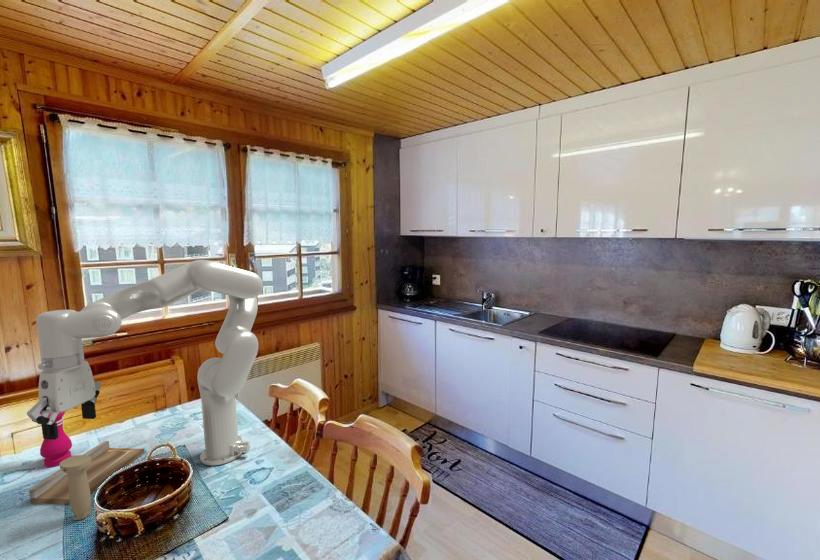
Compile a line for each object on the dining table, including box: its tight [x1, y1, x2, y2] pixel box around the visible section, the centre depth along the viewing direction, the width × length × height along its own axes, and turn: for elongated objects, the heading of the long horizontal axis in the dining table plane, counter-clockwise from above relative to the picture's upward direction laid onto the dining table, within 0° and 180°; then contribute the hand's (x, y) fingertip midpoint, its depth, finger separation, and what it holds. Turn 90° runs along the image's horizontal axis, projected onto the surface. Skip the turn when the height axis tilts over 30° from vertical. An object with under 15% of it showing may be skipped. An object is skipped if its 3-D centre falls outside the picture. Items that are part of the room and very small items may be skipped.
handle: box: [59, 454, 92, 521], centre depth 91 cm, size 5×6×15 cm
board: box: [28, 440, 145, 505], centre depth 108 cm, size 13×23×4 cm, turn 178°
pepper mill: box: [39, 411, 73, 468], centre depth 114 cm, size 7×7×20 cm
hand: (71, 428), depth 91 cm, fingers open, 9 cm apart
